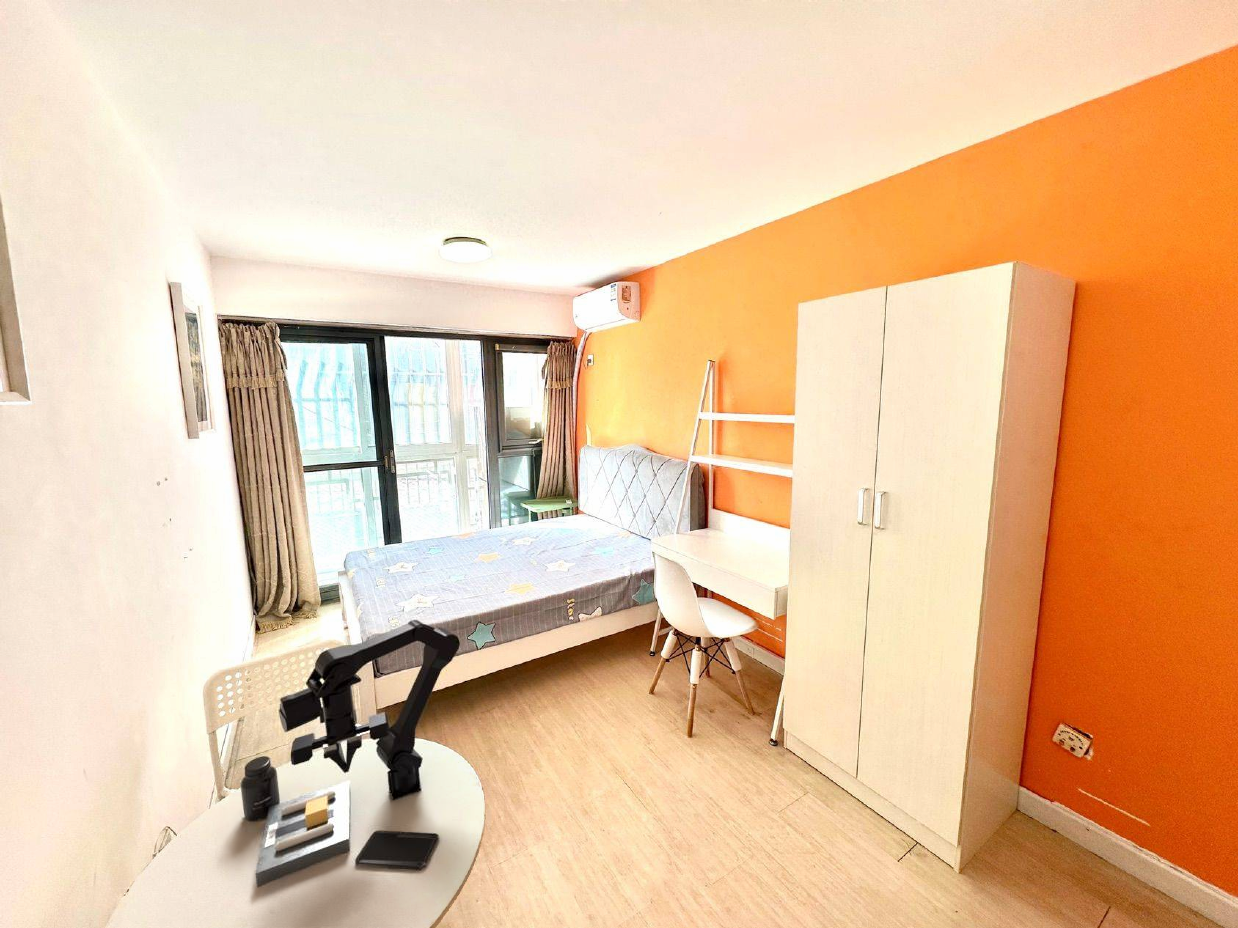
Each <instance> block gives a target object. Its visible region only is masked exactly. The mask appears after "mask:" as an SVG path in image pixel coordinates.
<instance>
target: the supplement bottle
mask: <svg viewBox="0 0 1238 928" xmlns="http://www.w3.org/2000/svg"><path fill="white" fill-rule="evenodd" d="M240 794H241V801H242V809H243V815H244V816H243V817H244V819H245V820H247V821H249V822H258V821H261V820H263V819H267V816H268V811H269V807H272V806H275V805H278V804H281V803H280V801H281V798H280V788H279V779H278V771H277V769H276V768H275V767H274V766H272V762H271V758H270V757H269V756H267V755H266V756H265V755H263V756H258V757H256V758H252V760H250V761H249V762H247V763H246V765H244V777H243V778H242V779H241V782H240Z"/></svg>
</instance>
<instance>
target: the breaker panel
mask: <svg viewBox="0 0 1238 928" xmlns="http://www.w3.org/2000/svg"><path fill="white" fill-rule="evenodd" d="M350 783H351V782H350V780H347V781H344V782H341V783H338V784H336V785H333V786H329V787H326V788H323V789H319V790H317V791H314V792H311V793H308V794H305V795H302V796H298V797H297V798H293V799H291V800H290V799H289V800H287V801H284V802H281V803H280V804H278V805H275V806H272V807H269V811H268V816H267V817H266V821H265V826H264V831H263V835H262V841H261V845H260V849H259V855H258V861H257V865H256V868H255V869H256V870H255V879H256V880H255V881H256V886H257V888H259V887H261V886H264V885H266V884H269V883H272V882H275V881H277V880H279V879H282V878H284V877H287V876H290V875H292V874H295V873H297V872H300V871H302V870H305V869H308V868H309V867H312V866H315V865H318V864H321V863H322V862H325V861H327V860H330V859H333V858H336V857H338V856H340V855H343V854H346V853H347V852H350V851H351V798H352V797H351V792H352V791H351V784H350ZM330 791H335V793H336V795H335V797H334V798H333V799H330V800H328V804H329V814H328V821H325V822H323V823H320V824H317V825H314V826H312V827H309V828H306V819H305V812H306V808H304V809H301V810H298V811H295V812H292V813H289V814H286V815H282V814H281V810H282V808H283V807H285V806H288V805H291V804H294V803H297V802H300V801H303V800H306V799H309V798H312V797H315V796H318V795H321V794H324V793H327V792H330ZM329 823H333V824H334V829H333V830H332V831H331V832H328V833H326V834H323V835H320V836H318V837H315V838H312V839H309V840H307V841H304V842H301V843H299V844H296V845H293V846H291V847H288V848H285V849H283V850H280V851H276V850H275V845H276V843H277V842H279V841H282V840H285V839H287V838H290V837H293V836H296V835H298V834H301V833H304V832H307V831H309V830H312V829H315V828H318V827H320V826H323V825H326V824H329Z"/></svg>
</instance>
